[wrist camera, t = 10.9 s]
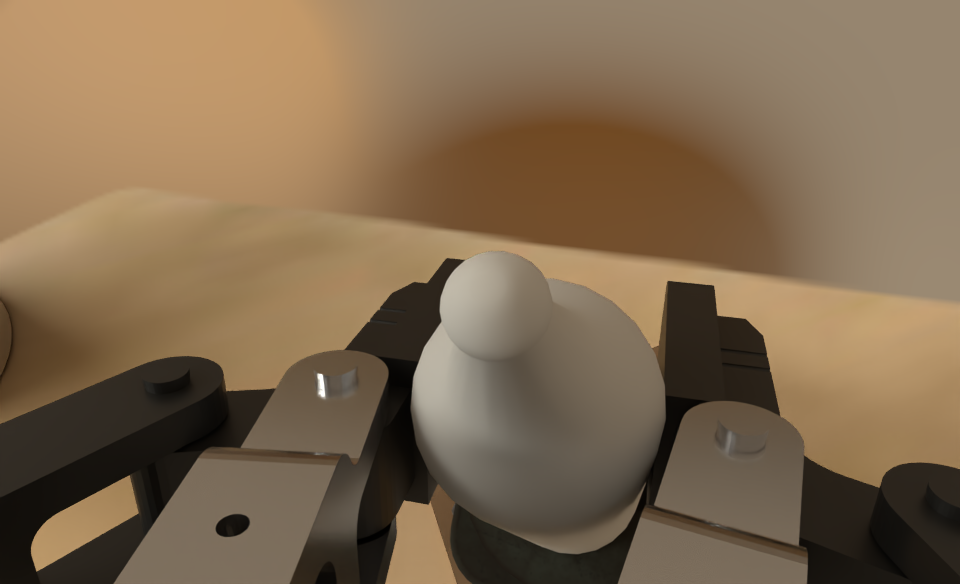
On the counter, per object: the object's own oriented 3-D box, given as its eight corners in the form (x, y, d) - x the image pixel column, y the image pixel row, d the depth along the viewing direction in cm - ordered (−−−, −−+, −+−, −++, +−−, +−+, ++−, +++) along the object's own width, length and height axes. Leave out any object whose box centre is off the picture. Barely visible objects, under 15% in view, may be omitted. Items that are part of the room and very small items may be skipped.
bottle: (533, 446, 30) (262, -14, 7) (663, 468, 28) (887, 8, 5) (510, 580, 28) (43, 594, 5) (648, 609, 27) (874, 803, 4)
